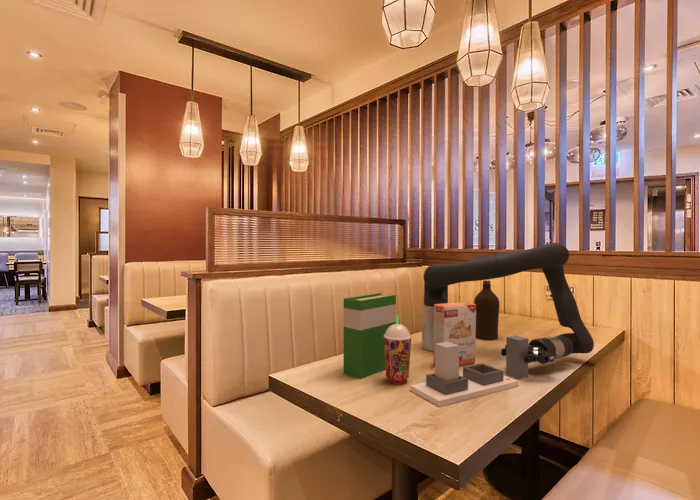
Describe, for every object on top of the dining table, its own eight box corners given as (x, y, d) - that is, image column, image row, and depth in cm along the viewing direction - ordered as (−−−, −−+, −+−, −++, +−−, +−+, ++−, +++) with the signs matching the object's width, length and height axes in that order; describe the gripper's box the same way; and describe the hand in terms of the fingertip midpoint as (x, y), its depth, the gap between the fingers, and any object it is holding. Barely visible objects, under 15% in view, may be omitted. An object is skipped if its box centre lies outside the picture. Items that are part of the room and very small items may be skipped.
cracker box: (444, 369, 126) (444, 306, 126) (432, 364, 131) (432, 303, 131) (476, 364, 132) (477, 303, 132) (464, 359, 137) (464, 301, 137)
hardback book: (378, 361, 135) (378, 293, 135) (395, 365, 130) (395, 295, 130) (343, 373, 123) (343, 298, 122) (360, 379, 117) (360, 300, 117)
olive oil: (504, 340, 164) (504, 281, 164) (480, 341, 162) (481, 282, 162) (491, 334, 175) (491, 279, 174) (469, 335, 173) (469, 279, 172)
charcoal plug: (506, 374, 121) (506, 337, 121) (515, 372, 123) (516, 335, 123) (518, 379, 117) (518, 340, 117) (528, 376, 119) (528, 338, 119)
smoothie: (404, 388, 110) (404, 318, 110) (378, 382, 114) (378, 315, 114) (415, 379, 117) (415, 314, 117) (390, 374, 122) (391, 311, 121)
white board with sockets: (410, 390, 108) (410, 343, 108) (486, 373, 122) (486, 331, 122) (439, 406, 98) (439, 354, 97) (518, 385, 112) (518, 339, 112)
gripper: (527, 333, 133) (494, 338, 126) (567, 342, 121) (533, 349, 113) (527, 354, 133) (494, 361, 126) (567, 366, 121) (533, 375, 113)
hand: (513, 356), depth 119 cm, fingers open, 8 cm apart
